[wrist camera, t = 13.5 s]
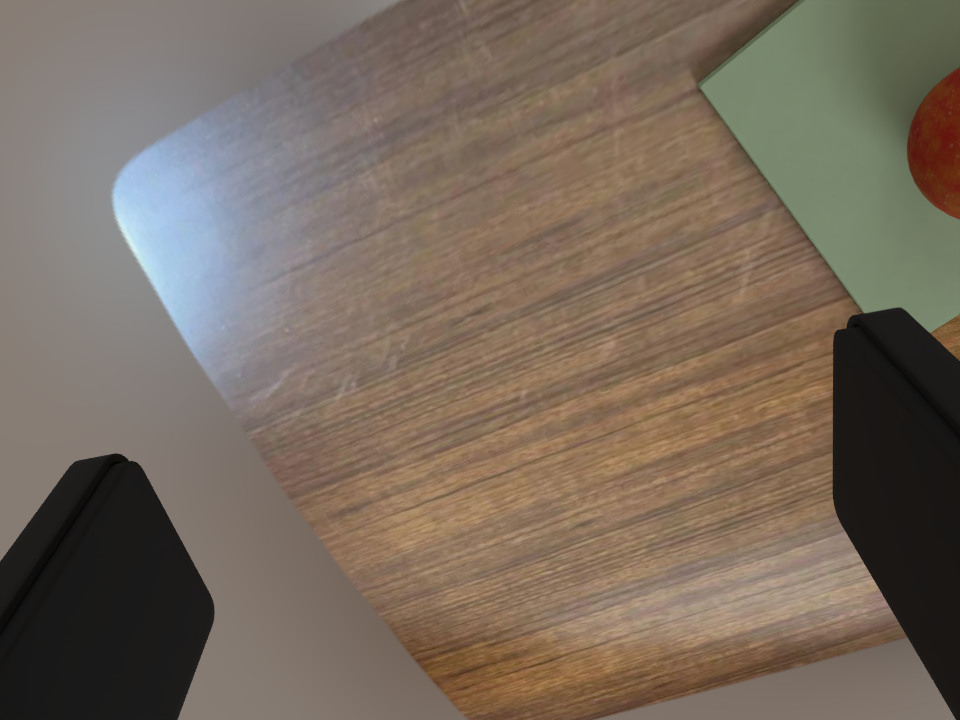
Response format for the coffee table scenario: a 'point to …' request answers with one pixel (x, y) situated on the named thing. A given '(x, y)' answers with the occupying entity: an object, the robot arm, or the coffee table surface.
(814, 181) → the mat
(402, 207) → the coffee table surface
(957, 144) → the fruit
